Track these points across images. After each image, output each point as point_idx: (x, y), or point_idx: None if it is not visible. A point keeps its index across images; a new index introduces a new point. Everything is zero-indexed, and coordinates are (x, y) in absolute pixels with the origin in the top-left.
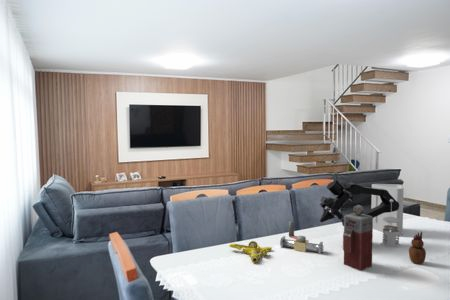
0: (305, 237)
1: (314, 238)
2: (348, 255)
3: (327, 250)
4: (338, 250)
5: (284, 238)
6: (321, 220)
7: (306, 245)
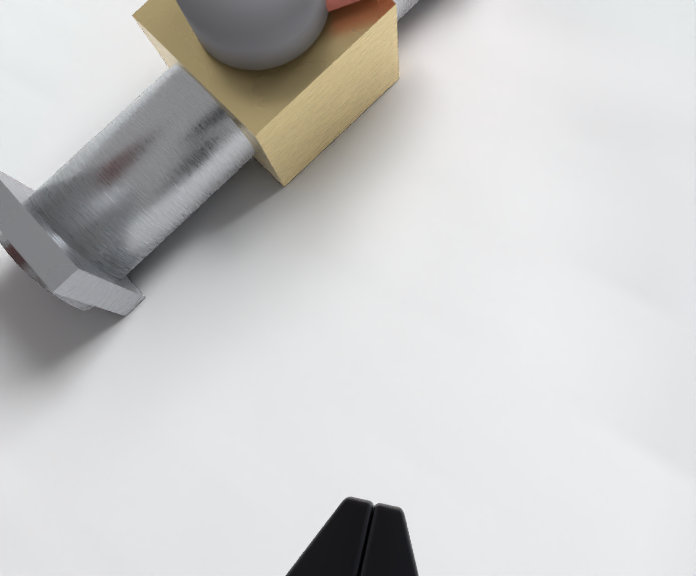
0: (199, 22)
1: (688, 532)
2: None
3: (123, 398)
4: (62, 557)
5: None
6: (316, 548)
7: (171, 68)
